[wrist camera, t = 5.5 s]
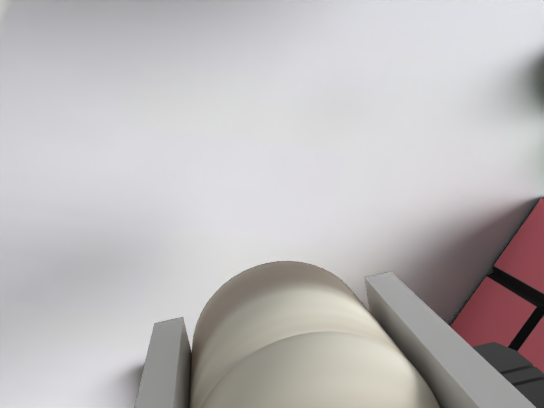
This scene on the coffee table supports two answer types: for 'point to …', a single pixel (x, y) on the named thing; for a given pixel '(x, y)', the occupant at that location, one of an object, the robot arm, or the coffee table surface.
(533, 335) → the puzzle cube
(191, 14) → the coffee table surface
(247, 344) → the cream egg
